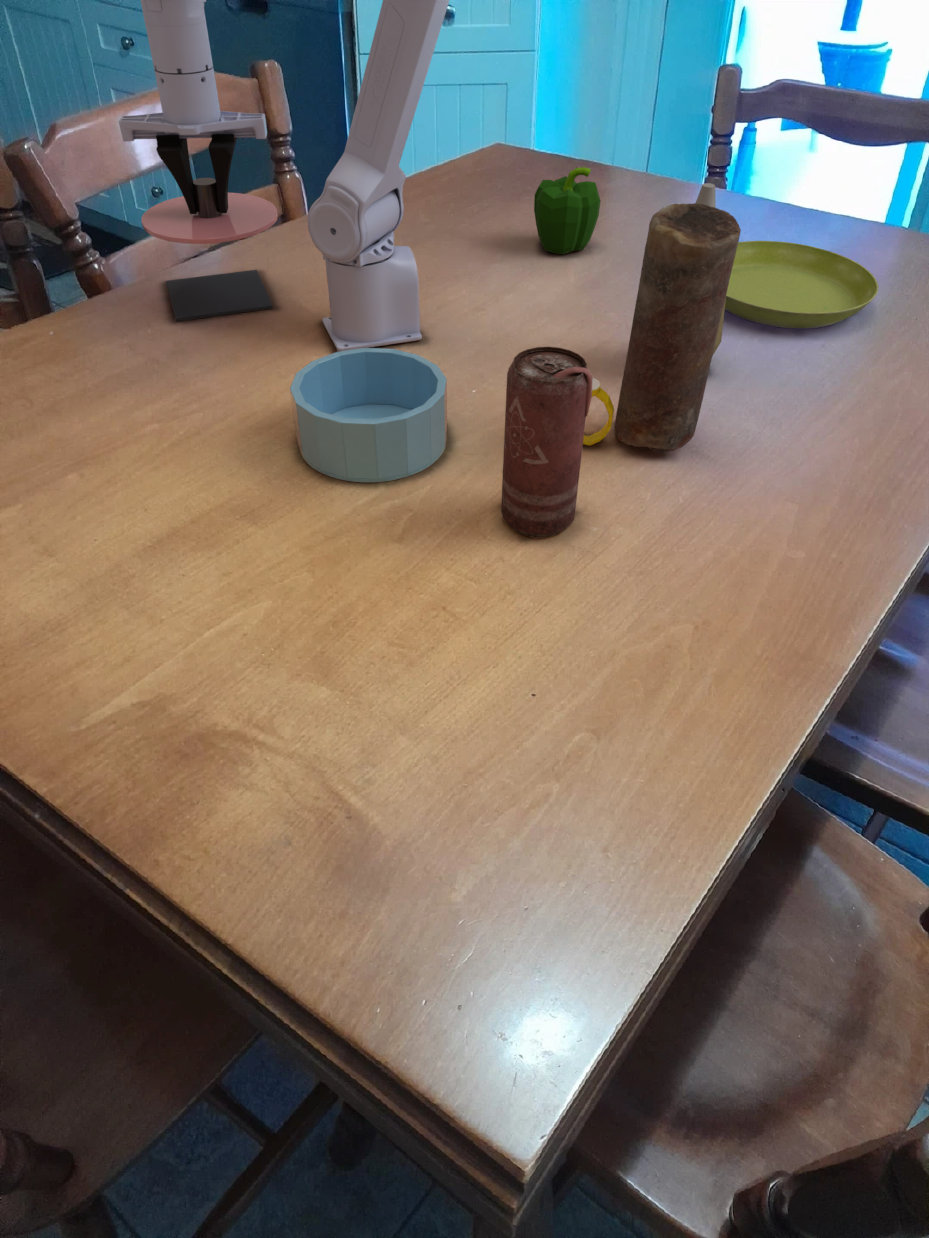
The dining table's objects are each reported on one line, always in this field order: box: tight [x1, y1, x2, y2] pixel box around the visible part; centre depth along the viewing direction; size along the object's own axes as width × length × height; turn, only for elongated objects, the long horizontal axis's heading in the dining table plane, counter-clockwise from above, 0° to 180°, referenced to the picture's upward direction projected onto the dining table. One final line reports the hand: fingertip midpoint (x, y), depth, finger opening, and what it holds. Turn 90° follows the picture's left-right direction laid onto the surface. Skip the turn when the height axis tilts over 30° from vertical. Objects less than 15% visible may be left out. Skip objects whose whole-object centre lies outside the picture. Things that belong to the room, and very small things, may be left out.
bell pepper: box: [533, 166, 602, 255], centre depth 115 cm, size 8×8×10 cm
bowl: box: [289, 347, 448, 483], centre depth 82 cm, size 14×14×6 cm
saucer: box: [725, 240, 879, 329], centre depth 106 cm, size 21×21×3 cm
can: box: [500, 346, 593, 539], centre depth 70 cm, size 6×6×14 cm
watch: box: [583, 377, 615, 447], centre depth 82 cm, size 6×3×6 cm, turn 79°
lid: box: [140, 177, 279, 245], centre depth 98 cm, size 15×15×4 cm
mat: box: [165, 269, 274, 322], centre depth 107 cm, size 11×11×1 cm
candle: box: [613, 202, 742, 452], centre depth 77 cm, size 8×7×20 cm
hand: (209, 210), depth 98 cm, fingers closed on lid, 2 cm apart
